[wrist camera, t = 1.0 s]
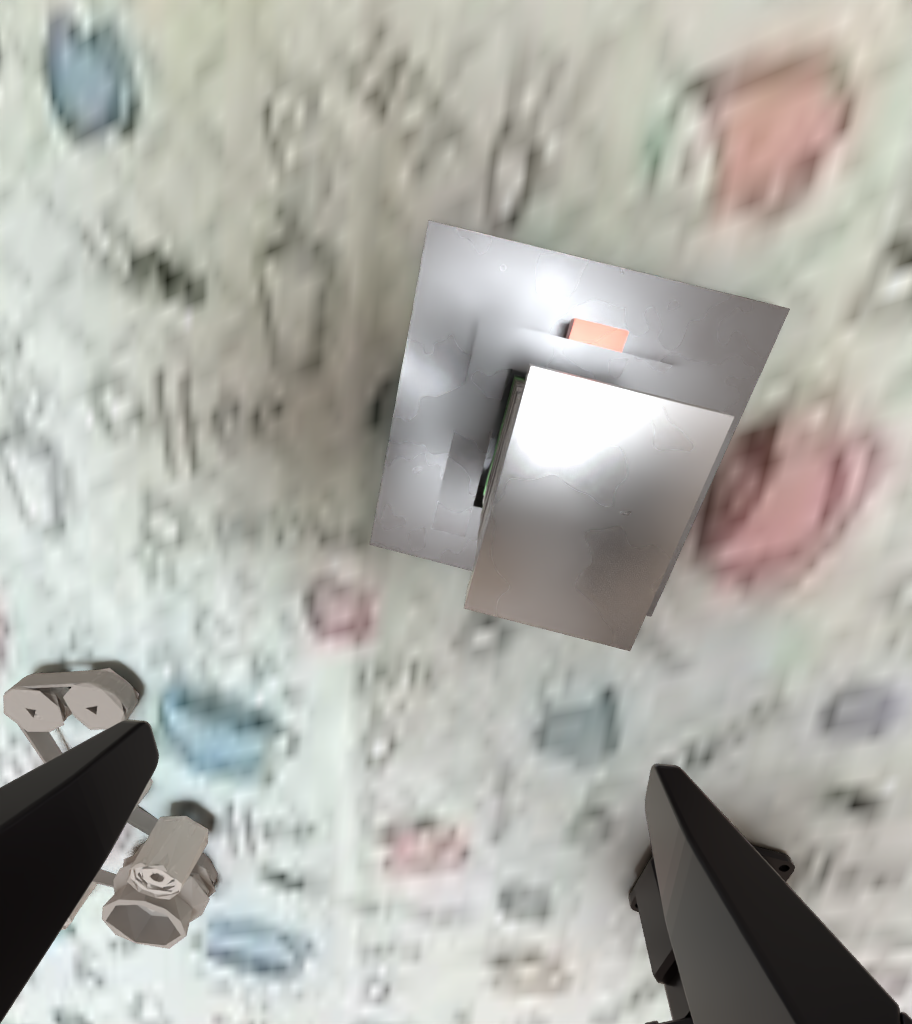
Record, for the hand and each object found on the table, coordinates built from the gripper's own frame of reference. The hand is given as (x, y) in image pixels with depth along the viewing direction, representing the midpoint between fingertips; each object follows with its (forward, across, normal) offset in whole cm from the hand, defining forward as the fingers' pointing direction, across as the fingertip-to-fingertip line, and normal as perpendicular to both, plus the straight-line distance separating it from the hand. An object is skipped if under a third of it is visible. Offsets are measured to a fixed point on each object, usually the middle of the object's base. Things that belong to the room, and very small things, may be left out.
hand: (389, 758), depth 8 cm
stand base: (+12, -4, -3) cm, 13 cm away
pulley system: (+13, +22, +23) cm, 34 cm away
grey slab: (+12, -4, -3) cm, 12 cm away
